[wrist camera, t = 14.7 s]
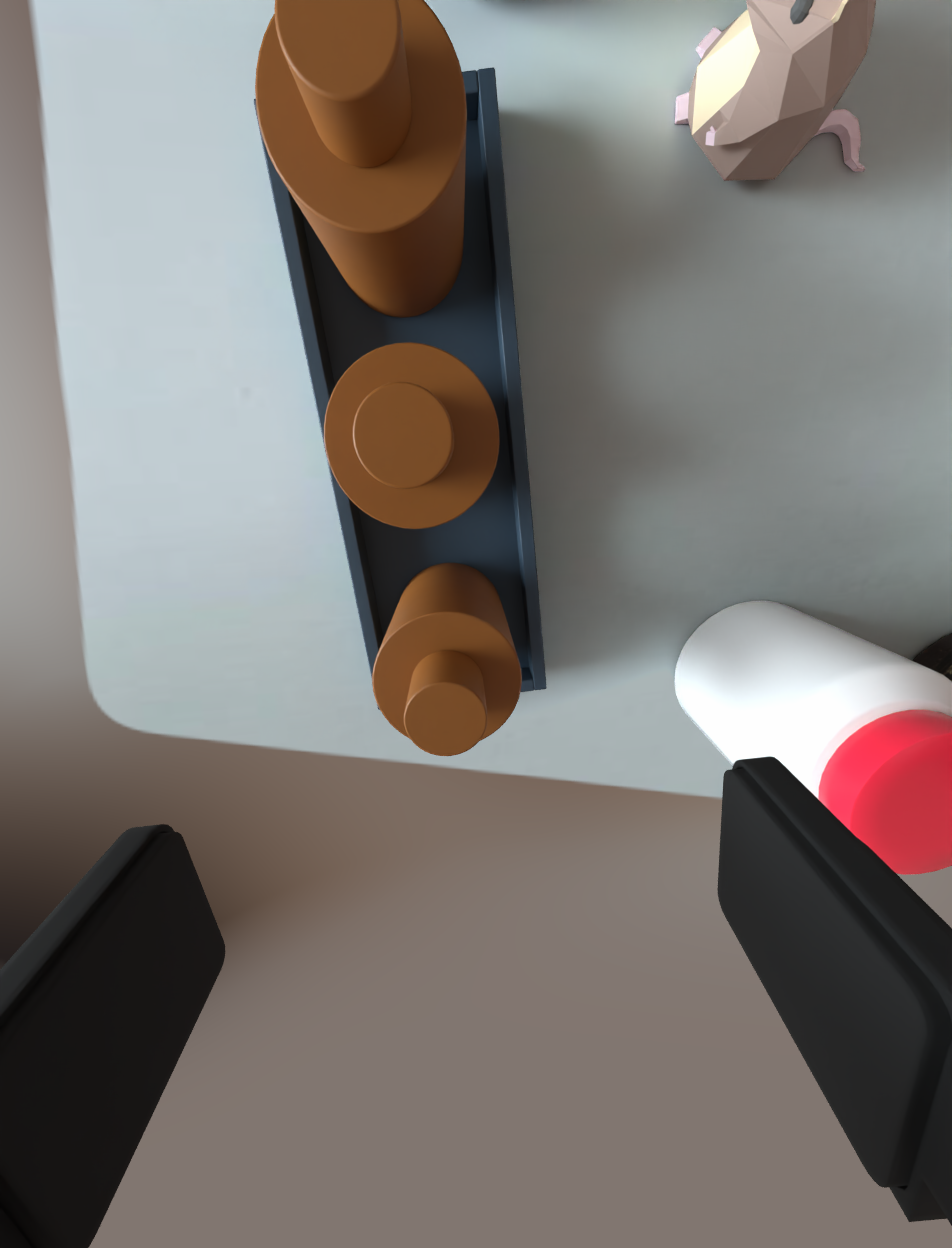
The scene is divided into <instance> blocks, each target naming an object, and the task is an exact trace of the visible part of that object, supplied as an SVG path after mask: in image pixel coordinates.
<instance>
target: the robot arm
mask: <svg viewBox="0 0 952 1248" xmlns="http://www.w3.org/2000/svg"><path fill="white" fill-rule="evenodd" d="M718 897H719V902H720V905H721V908H722V911H723V913H724V915H725V917H726V919H727V921H728V922H729V924H730V926H731V928H732V930H733V931H734V933H735V935H736V937H737V939H738V940H739V942H740V944H741V946H742V948H743V949H744V951H745V953H746V955H747V957H748V959H749V960H750V962H751V964H752V966H753V968H754V969H755V971H756V973H757V975H758V976H759V978H760V980H761V982H762V984H763V986H764V987H765V989H766V991H767V993H768V995H769V996H770V998H771V1000H772V1002H773V1003H774V1005H775V1007H776V1009H777V1011H778V1013H779V1014H780V1016H781V1018H782V1020H783V1022H784V1023H785V1025H786V1027H787V1029H788V1030H789V1032H790V1034H791V1036H792V1038H793V1040H794V1041H795V1043H796V1045H797V1047H798V1049H799V1050H800V1052H801V1054H802V1056H803V1058H804V1059H805V1061H806V1063H807V1065H808V1067H809V1068H810V1070H811V1072H812V1074H813V1076H814V1078H815V1079H816V1081H817V1083H818V1085H819V1086H820V1088H821V1090H822V1092H823V1094H824V1095H825V1097H826V1099H827V1101H828V1103H829V1104H830V1106H831V1108H832V1110H833V1112H834V1114H835V1115H836V1117H837V1119H838V1121H839V1122H840V1124H841V1126H842V1128H843V1130H844V1132H845V1133H846V1135H847V1137H848V1139H849V1141H850V1142H851V1144H852V1146H853V1148H854V1150H855V1151H856V1153H857V1155H858V1157H859V1159H860V1160H861V1162H862V1164H863V1165H864V1167H865V1169H866V1170H867V1172H868V1174H869V1175H870V1176H871V1177H872V1179H873V1180H874V1181H875V1182H876V1183H877V1184H878V1185H879V1186H881V1187H890V1189H891V1190H892V1193H893V1194H894V1196H895V1198H896V1200H897V1201H898V1203H899V1205H900V1207H901V1208H902V1210H903V1212H904V1214H905V1215H906V1217H907V1219H908V1221H909V1222H912V1221H923V1220H935V1219H946V1218H947V1219H948V1220H949V1222H950V1224H951V1225H952V929H951V927H950V926H949V925H948V924H946V922H945V921H944V920H942V918H941V917H939V915H937V914H936V913H935V912H934V911H933V910H932V909H931V908H930V907H929V906H928V905H927V904H926V903H925V902H924V901H923V900H922V899H921V898H920V897H919V896H918V895H917V894H916V893H915V892H914V891H913V890H912V889H911V888H910V887H909V886H908V885H907V884H906V883H905V882H904V881H903V880H902V879H901V878H900V877H899V876H898V875H897V874H896V873H895V872H894V871H893V870H892V869H891V868H890V867H889V866H888V865H887V864H886V863H885V862H884V861H883V860H882V859H881V858H880V857H879V856H878V855H877V854H876V853H875V852H874V851H873V850H872V849H871V848H870V847H869V846H867V845H866V844H865V843H864V842H862V841H861V840H860V839H859V838H857V837H856V836H855V835H854V834H853V833H852V832H851V831H850V830H849V829H848V828H847V827H846V826H845V825H844V824H843V823H842V822H841V821H840V820H839V819H838V818H837V817H836V816H835V815H834V814H833V813H832V812H831V811H830V810H829V809H828V808H827V807H826V806H825V805H824V804H823V803H822V802H821V801H820V800H819V799H818V798H817V797H816V796H815V795H814V794H812V793H811V792H810V791H809V790H808V789H807V788H806V787H805V786H804V785H803V784H802V783H801V782H800V781H799V780H798V779H797V778H796V777H795V776H794V775H793V774H792V773H791V772H790V771H789V770H788V769H787V768H786V767H785V766H784V765H783V764H782V763H781V762H780V761H779V760H778V759H776V758H775V757H772V756H767V757H758V758H749V759H741V760H737V761H735V763H734V764H733V769H732V770H727V771H726V772H725V773H724V780H723V799H722V817H721V836H720V855H719V874H718ZM224 958H225V944H224V941H223V938H222V936H221V933H220V930H219V928H218V926H217V923H216V920H215V918H214V916H213V913H212V910H211V908H210V905H209V903H208V900H207V898H206V895H205V893H204V890H203V887H202V885H201V882H200V880H199V877H198V875H197V872H196V870H195V867H194V865H193V862H192V860H191V857H190V854H189V852H188V850H187V847H186V844H185V842H184V839H183V837H182V835H181V834H180V833H178V832H174V830H173V829H172V827H170V826H169V825H164V824H161V825H153V826H144V827H135V828H131V829H128V830H126V831H125V832H124V833H123V834H122V835H121V836H120V837H119V838H118V839H117V840H116V841H115V843H114V844H113V845H112V846H111V847H110V848H109V849H108V850H107V851H106V852H105V854H104V855H103V856H102V857H101V858H100V859H99V860H98V861H97V863H96V864H95V865H94V866H93V867H92V868H91V869H90V870H89V871H88V873H87V874H86V875H85V876H84V877H83V878H82V879H81V880H80V882H79V883H78V884H77V885H76V886H75V887H74V888H73V889H72V890H71V892H70V893H69V894H68V895H67V896H66V897H65V898H64V899H63V901H62V902H61V903H60V904H59V905H58V906H57V907H56V908H55V909H54V911H53V912H52V913H51V914H50V915H49V916H48V917H47V918H46V920H45V921H44V922H43V923H42V924H41V925H40V926H39V927H38V928H37V929H36V931H35V932H34V933H33V934H32V935H31V936H30V937H29V938H28V939H27V941H26V942H25V943H24V944H23V945H22V946H21V947H20V948H19V950H18V951H17V952H16V953H15V954H14V955H13V956H12V958H11V959H10V960H9V961H8V962H7V963H6V964H5V965H4V966H3V967H2V968H1V970H0V1248H88V1247H89V1246H90V1244H91V1242H92V1241H93V1239H94V1237H95V1235H96V1233H97V1231H98V1229H99V1227H100V1224H101V1222H102V1220H103V1218H104V1216H105V1214H106V1212H107V1210H108V1208H109V1205H110V1203H111V1201H112V1199H113V1197H114V1195H115V1193H116V1191H117V1188H118V1186H119V1184H120V1182H121V1180H122V1178H123V1176H124V1174H125V1171H126V1169H127V1167H128V1165H129V1163H130V1161H131V1159H132V1156H133V1155H134V1152H135V1150H136V1148H137V1146H138V1144H139V1142H140V1140H141V1138H142V1135H143V1133H144V1131H145V1129H146V1127H147V1125H148V1123H149V1121H150V1119H151V1117H152V1114H153V1112H154V1110H155V1108H156V1106H157V1104H158V1102H159V1100H160V1097H161V1095H162V1093H163V1091H164V1089H165V1087H166V1085H167V1082H168V1081H169V1078H170V1076H171V1074H172V1072H173V1070H174V1068H175V1066H176V1064H177V1061H178V1059H179V1057H180V1055H181V1053H182V1051H183V1049H184V1046H185V1044H186V1042H187V1040H188V1038H189V1036H190V1034H191V1032H192V1030H193V1028H194V1026H195V1023H196V1021H197V1019H198V1017H199V1015H200V1013H201V1011H202V1009H203V1006H204V1004H205V1002H206V1000H207V998H208V996H209V994H210V992H211V990H212V987H213V985H214V983H215V981H216V979H217V976H218V975H219V973H220V970H221V968H222V965H223V962H224Z"/></svg>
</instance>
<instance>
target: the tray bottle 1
mask: <svg viewBox="0 0 952 1248" xmlns="http://www.w3.org/2000/svg"><path fill="white" fill-rule="evenodd" d="M255 92H256V108H257V114H258V121H259V126H260V129H261V133H262V137H263V141H264V143H265V146H266V149H267V152H268V154H269V157H270V159H271V161H272V163H273V165H274V167H275V169H276V171H277V173H278V174H279V176H280V177H281V179H282V181H283V182H284V184H285V185H286V187H287V188H288V190H289V192H290V193H291V195H292V196H293V198H294V200H295V201H296V203H297V204H298V206H299V208H300V209H301V211H302V212H303V214H304V216H305V217H306V219H307V220H308V222H309V224H310V225H311V227H312V228H313V230H314V231H315V233H316V235H317V236H318V238H319V239H320V241H321V243H322V244H323V246H324V247H325V249H326V251H327V252H328V254H329V255H330V257H331V259H332V260H333V262H334V263H335V265H336V267H337V268H338V270H339V271H340V273H341V274H342V276H343V278H344V279H345V281H346V282H347V284H348V286H349V287H350V289H351V290H352V291H353V292H354V294H355V295H356V296H357V297H358V298H359V299H360V300H361V301H362V302H363V303H365V304H366V305H367V306H369V307H370V308H372V309H374V310H375V311H377V312H380V313H382V314H385V315H388V316H392V317H412V316H417V315H420V314H422V313H425V312H427V311H429V310H431V309H432V308H434V307H435V306H436V305H438V304H439V303H440V302H441V301H442V300H443V299H444V298H445V297H446V295H447V294H448V293H449V292H450V290H451V288H452V287H453V285H454V283H455V281H456V279H457V276H458V274H459V271H460V267H461V263H462V257H463V237H464V199H465V160H466V121H467V109H466V93H465V87H464V80H463V76H462V72H461V68H460V64H459V60H458V58H457V55H456V52H455V50H454V47H453V44H452V42H451V40H450V38H449V36H448V34H447V32H446V30H445V28H444V27H443V25H442V24H441V22H440V21H439V19H438V18H437V16H436V15H435V13H434V12H433V11H432V10H431V8H430V7H429V6H428V5H427V4H426V2H425V1H424V0H275V14H274V15H273V17H272V19H271V20H270V23H269V25H268V27H267V30H266V32H265V34H264V37H263V41H262V44H261V48H260V51H259V57H258V63H257V68H256V85H255Z"/></svg>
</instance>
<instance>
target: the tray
mask: <svg viewBox="0 0 952 1248" xmlns="http://www.w3.org/2000/svg"><path fill="white" fill-rule="evenodd" d="M462 76H463V80H464V87H465V93H466V109H467V121H466V160H465V199H464V237H463V257H462V263H461V267H460V271H459V274H458V276H457V279H456V281H455V283H454V285H453V287H452V288H451V290H450V292H449V293H448V294H447V295H446V297H445V298H444V299H443V300H442V301H441V302H440V303H439V304H438V305H436V306H435V307H434V308H432V309H431V310H429V311H427V312H425V313H422V314H420V315H417V316H412V317H392V316H388V315H385V314H382V313H380V312H377V311H375V310H374V309H372V308H370V307H369V306H367V305H366V304H365V303H363V302H362V301H361V300H360V299H359V298H358V297H357V296H356V295H355V294H354V292H353V291H352V290H351V289H350V287H349V286H348V284H347V282H346V281H345V279H344V278H343V276H342V274H341V273H340V271H339V270H338V268H337V267H336V265H335V263H334V262H333V260H332V259H331V257H330V255H329V254H328V252H327V251H326V249H325V247H324V246H323V244H322V243H321V241H320V239H319V238H318V236H317V235H316V233H315V231H314V230H313V228H312V227H311V225H310V224H309V222H308V220H307V219H306V217H305V216H304V214H303V212H302V211H301V209H300V208H299V206H298V204H297V203H296V201H295V200H294V198H293V196H292V195H291V193H290V192H289V190H288V188H287V187H286V185H285V184H284V182H283V181H282V179H281V177H280V176H279V174H278V173H277V171H276V169H275V167H274V165H273V163H272V161H271V159H270V157H269V154H268V152H267V149H266V146H265V143H264V141H263V137H262V133H261V129H260V126H259V129H260V134H261V139H262V144H263V149H264V154H265V159H266V163H267V168H268V173H269V178H270V183H271V188H272V193H273V198H274V202H275V207H276V212H277V217H278V222H279V227H280V232H281V237H282V242H283V246H284V251H285V256H286V261H287V266H288V271H289V276H290V281H291V285H292V290H293V295H294V300H295V305H296V310H297V315H298V320H299V325H300V329H301V334H302V339H303V344H304V349H305V354H306V359H307V364H308V368H309V373H310V378H311V383H312V388H313V393H314V398H315V403H316V408H317V412H318V417H319V422H320V427H321V432H322V437H323V442H324V422H325V414H326V410H327V406H328V402H329V399H330V397H331V394H332V392H333V390H334V388H335V386H336V384H337V383H338V381H339V379H340V378H341V377H342V375H343V374H344V373H345V371H346V370H347V369H348V368H349V367H350V366H351V365H352V364H353V363H354V362H356V361H357V360H358V359H360V358H361V357H362V356H364V355H365V354H367V353H369V352H371V351H373V350H375V349H377V348H380V347H383V346H386V345H390V344H395V343H407V342H411V343H422V344H426V345H430V346H434V347H437V348H439V349H442V350H444V351H446V352H448V353H450V354H451V355H453V356H455V357H456V358H458V359H459V360H460V361H462V362H463V363H464V364H466V365H467V366H468V367H469V368H470V369H471V370H472V371H473V372H474V373H475V375H476V376H477V377H478V378H479V380H480V381H481V382H482V384H483V385H484V387H485V389H486V390H487V392H488V394H489V396H490V398H491V401H492V403H493V405H494V409H495V412H496V416H497V420H498V427H499V453H498V458H497V463H496V467H495V470H494V473H493V476H492V478H491V480H490V482H489V484H488V486H487V488H486V489H485V491H484V492H483V494H482V495H481V497H480V498H479V499H478V500H477V501H476V502H475V503H474V505H472V506H471V507H470V508H469V509H468V510H467V511H466V512H464V513H463V514H461V515H460V516H458V517H457V518H455V519H453V520H451V521H449V522H447V523H444V524H441V525H438V526H435V527H430V528H422V529H409V528H401V527H396V526H392V525H389V524H386V523H383V522H381V521H379V520H377V519H375V518H373V517H371V516H370V515H368V514H367V513H365V512H364V511H362V510H361V509H360V508H359V507H358V506H356V505H355V504H354V503H353V502H352V501H351V500H350V499H349V497H348V496H347V495H346V494H345V493H344V491H343V490H342V488H341V487H340V486H339V484H338V482H337V480H336V478H335V477H334V475H333V472H332V470H331V467H330V465H329V462H328V466H329V471H330V476H331V481H332V486H333V491H334V495H335V500H336V505H337V510H338V515H339V520H340V525H341V530H342V534H343V539H344V544H345V549H346V554H347V559H348V564H349V569H350V574H351V578H352V583H353V588H354V593H355V598H356V603H357V608H358V613H359V617H360V622H361V627H362V632H363V637H364V642H365V647H366V652H367V657H368V661H369V666H370V671H371V676H372V673H373V667H374V663H375V659H376V656H377V654H378V651H379V649H380V647H381V644H382V642H383V639H384V637H385V634H386V632H387V630H388V627H389V625H390V622H391V620H392V617H393V615H394V613H395V610H396V608H397V605H398V603H399V601H400V598H401V596H402V593H403V591H404V589H405V587H406V586H407V584H408V583H409V582H410V581H411V579H412V578H413V577H414V576H416V575H417V574H418V573H419V572H421V571H422V570H424V569H426V568H428V567H430V566H433V565H436V564H441V563H459V564H464V565H467V566H470V567H472V568H474V569H476V570H478V571H479V572H481V573H482V574H484V575H485V576H486V577H487V578H488V579H489V580H490V581H491V582H492V584H493V585H494V587H495V588H496V590H497V592H498V594H499V597H500V600H501V604H502V607H503V610H504V613H505V617H506V620H507V623H508V627H509V630H510V633H511V636H512V640H513V643H514V646H515V650H516V653H517V656H518V659H519V663H520V667H521V674H522V684H521V692H525V691H533V690H541V689H546V676H545V664H544V652H543V640H542V628H541V616H540V604H539V592H538V580H537V568H536V556H535V544H534V532H533V520H532V508H531V496H530V484H529V472H528V460H527V448H526V436H525V425H524V413H523V401H522V389H521V377H520V365H519V353H518V341H517V329H516V317H515V305H514V293H513V281H512V269H511V257H510V245H509V233H508V221H507V209H506V197H505V185H504V173H503V161H502V149H501V137H500V125H499V113H498V101H497V89H496V77H495V69H494V68H486V69H479V70H478V71H475V70H474V71H466V72H462ZM254 105H255V110H256V115H257V119H258V114H257V108H256V99H254ZM258 124H259V121H258ZM324 447H325V443H324ZM325 451H326V450H325ZM326 456H327V454H326ZM327 461H328V458H327ZM377 705H378V704H377ZM378 709H379V710H380V708H379V706H378Z"/></svg>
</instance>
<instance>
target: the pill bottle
mask: <svg viewBox="0 0 952 1248" xmlns="http://www.w3.org/2000/svg"><path fill="white" fill-rule="evenodd" d="M674 679H675V691H676V694H677V698H678V701H679V703H680V705H681V707H682V708H683V710H684V712H685V713H686V715H687V716H688V717H689V718H690V719H691V720H692V721H693V722H694V723H695V725H696V726H697V727H698V728H699V729H700V730H701V731H702V732H703V733H704V735H705V736H706V737H707V738H708V739H709V740H710V741H711V742H712V743H713V745H714V746H715V747H716V748H717V749H718V750H719V751H720V752H721V753H722V755H723V756H724V757H725V758H726V759H727V760H728V761H729V762H730V763H731V765H732V766H733V764H734V763H735V761H737V760H741V759H749V758H758V757H767V756H772V757H775V758H776V759H778V760H779V761H780V762H781V763H782V764H783V765H784V766H785V767H786V768H787V769H788V770H789V771H790V772H791V773H792V774H793V775H794V776H795V777H796V778H797V779H798V780H799V781H800V782H801V783H802V784H803V785H804V786H805V787H806V788H807V789H808V790H809V791H810V792H811V793H812V794H814V795H815V796H816V797H817V798H818V799H819V800H820V801H821V802H822V803H823V804H824V805H825V806H826V807H827V808H828V809H829V810H830V811H831V812H832V813H833V814H834V815H835V816H836V817H837V818H838V819H839V820H840V821H841V822H842V823H843V824H844V825H845V826H846V827H847V828H848V829H849V830H850V831H851V832H852V833H853V834H854V835H855V836H856V837H857V838H859V839H860V840H861V841H862V842H864V843H865V844H866V845H867V846H869V847H870V848H871V849H872V850H873V851H874V852H875V853H876V854H877V855H878V856H879V857H880V858H881V859H882V860H883V861H884V862H885V863H886V864H887V865H888V866H889V867H890V868H891V869H892V870H893V871H894V872H895V873H897V874H922V873H927V872H933V871H937V870H940V869H943V868H946V867H949V866H952V681H950V680H949V679H948V678H947V677H945V676H944V675H943V674H941V673H939V672H936V671H934V670H932V669H930V668H927V667H925V666H923V665H921V664H918V663H916V662H914V661H911V660H909V659H907V658H905V657H902V656H900V655H898V654H896V653H893V652H891V651H889V650H887V649H884V648H882V647H880V646H877V645H875V644H873V643H871V642H868V641H866V640H864V639H862V638H859V637H857V636H855V635H853V634H850V633H848V632H846V631H843V630H841V629H839V628H837V627H834V626H832V625H830V624H828V623H825V622H823V621H821V620H819V619H816V618H814V617H812V616H810V615H807V614H805V613H803V612H800V611H798V610H796V609H794V608H791V607H789V606H787V605H784V604H782V603H777V602H772V601H749V602H743V603H738V604H736V605H733V606H730V607H728V608H725V609H723V610H721V611H720V612H718V613H716V614H714V615H713V616H711V617H710V618H708V619H707V620H706V621H705V622H704V623H703V624H701V625H700V626H699V627H698V628H697V629H696V630H695V632H694V633H693V634H692V635H691V636H690V637H689V639H688V640H687V642H686V644H685V646H684V647H683V649H682V651H681V653H680V656H679V659H678V661H677V664H676V671H675V678H674Z"/></svg>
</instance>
